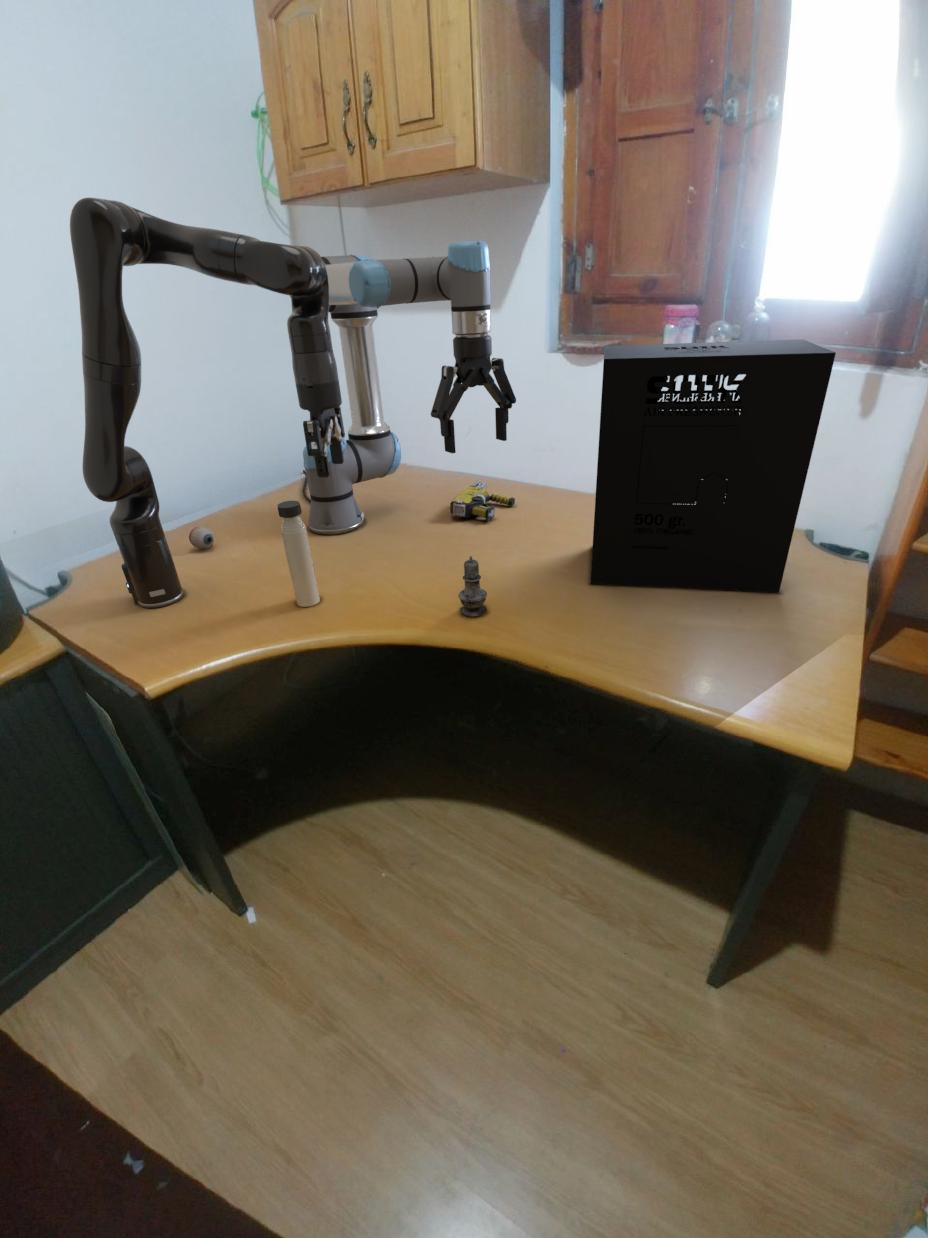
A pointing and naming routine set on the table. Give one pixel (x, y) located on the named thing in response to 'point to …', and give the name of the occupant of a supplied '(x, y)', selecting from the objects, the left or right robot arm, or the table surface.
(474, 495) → the toy gun
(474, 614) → the dark grey tall piece
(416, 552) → the table surface
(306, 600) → the bottle
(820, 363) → the cardboard box
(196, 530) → the eyeball
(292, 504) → the cap
